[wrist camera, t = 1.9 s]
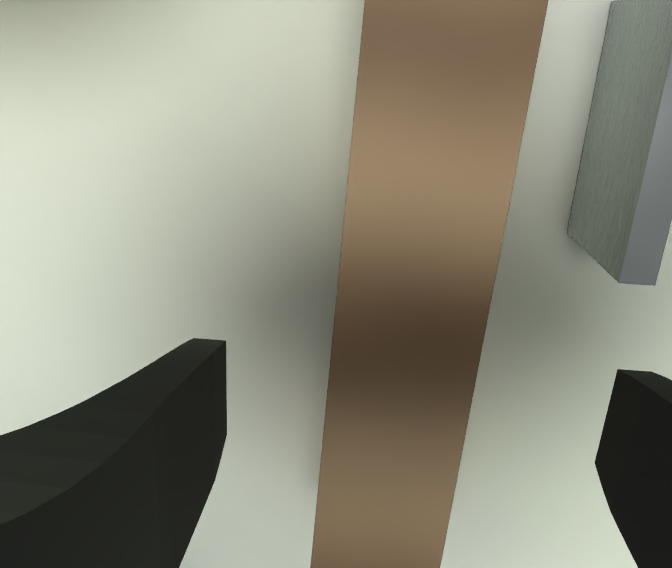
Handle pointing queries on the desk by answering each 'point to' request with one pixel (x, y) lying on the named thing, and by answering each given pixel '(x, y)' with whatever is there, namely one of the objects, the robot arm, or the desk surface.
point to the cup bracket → (629, 146)
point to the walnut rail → (418, 267)
